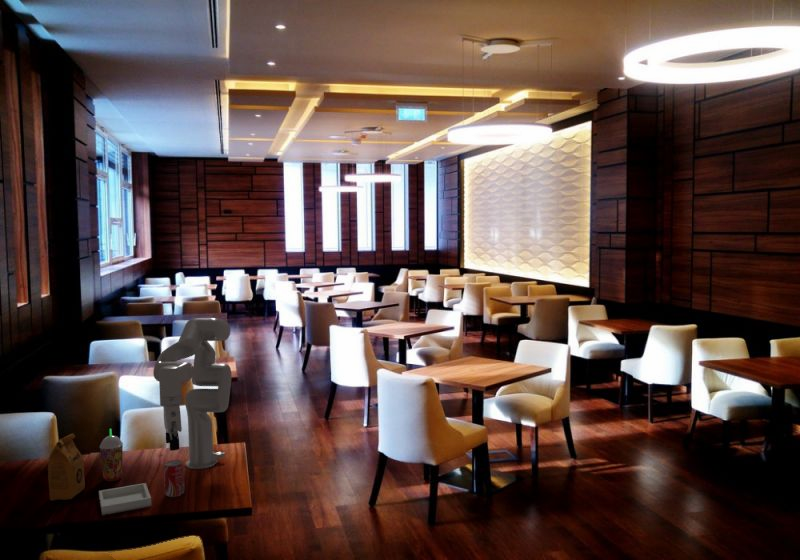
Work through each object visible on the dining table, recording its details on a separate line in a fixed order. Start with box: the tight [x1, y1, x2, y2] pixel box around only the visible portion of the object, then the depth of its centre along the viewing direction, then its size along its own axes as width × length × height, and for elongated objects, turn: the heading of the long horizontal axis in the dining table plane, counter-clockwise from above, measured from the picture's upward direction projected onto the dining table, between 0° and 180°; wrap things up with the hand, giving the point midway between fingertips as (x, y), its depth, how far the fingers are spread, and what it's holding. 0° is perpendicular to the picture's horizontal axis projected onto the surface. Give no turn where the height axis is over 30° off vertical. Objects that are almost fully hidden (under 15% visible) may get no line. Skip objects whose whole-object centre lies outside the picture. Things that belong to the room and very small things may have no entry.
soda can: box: [163, 459, 185, 498], centre depth 252 cm, size 7×7×12 cm
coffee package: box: [47, 433, 86, 502], centre depth 252 cm, size 10×12×22 cm
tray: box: [98, 482, 152, 516], centre depth 245 cm, size 16×16×3 cm
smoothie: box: [99, 428, 124, 482], centre depth 268 cm, size 8×8×20 cm
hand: (172, 446), depth 251 cm, fingers open, 9 cm apart
